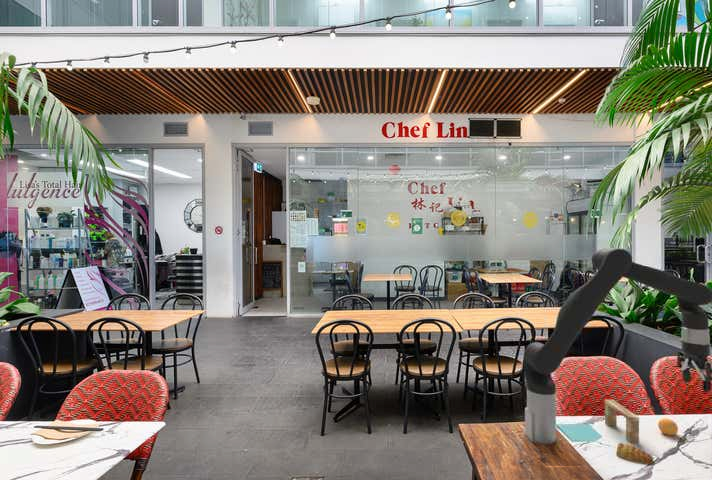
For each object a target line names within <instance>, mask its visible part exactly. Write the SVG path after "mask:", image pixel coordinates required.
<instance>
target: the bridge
mask: <svg viewBox="0 0 712 480" xmlns="http://www.w3.org/2000/svg"><path fill="white" fill-rule="evenodd" d="M617 413H619V414H620V415H621V416H622V417H623V418H625V440H626V441H627V442H628V444H639V443H640V417H639V416H637V415H636V414H634V413H633V412H632V411H630V410H629V409H627V408H626V407H624V406H623V405H622V404H621V403H619V402H617V401H616V400H614V399H604V424H605V425H606V426H607V427H617V425H618V424H617V423H618V422H617V421H618V420H617V419H618V418H617V416H618V415H617Z"/></svg>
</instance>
